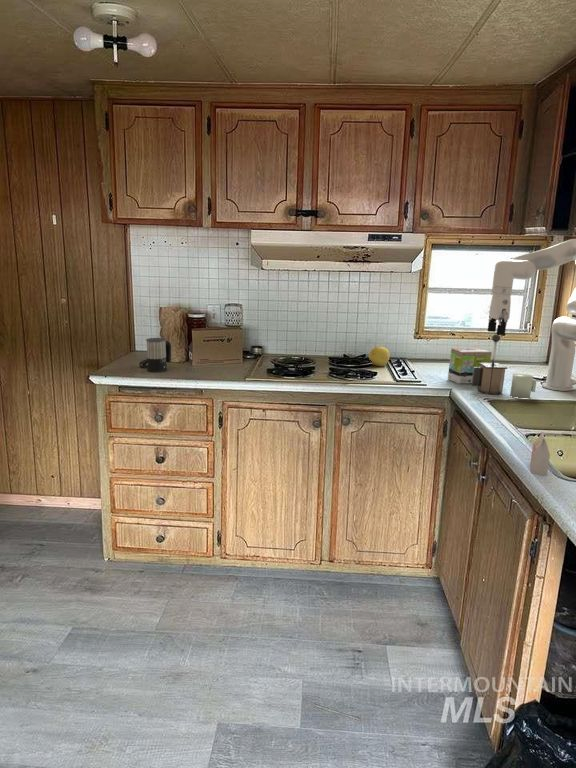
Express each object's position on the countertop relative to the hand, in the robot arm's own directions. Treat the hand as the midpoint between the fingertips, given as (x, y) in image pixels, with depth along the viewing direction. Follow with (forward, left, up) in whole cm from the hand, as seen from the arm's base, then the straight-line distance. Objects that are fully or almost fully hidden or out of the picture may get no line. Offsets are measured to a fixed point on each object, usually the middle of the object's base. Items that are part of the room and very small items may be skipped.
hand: (495, 333), depth 218 cm
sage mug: (-10, +7, -25) cm, 28 cm away
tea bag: (+18, +84, -25) cm, 90 cm away
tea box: (+3, -19, -25) cm, 32 cm away
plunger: (0, 0, -17) cm, 17 cm away
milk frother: (+150, -28, -25) cm, 154 cm away
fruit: (+39, -49, -25) cm, 67 cm away
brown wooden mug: (+1, 0, -25) cm, 25 cm away
